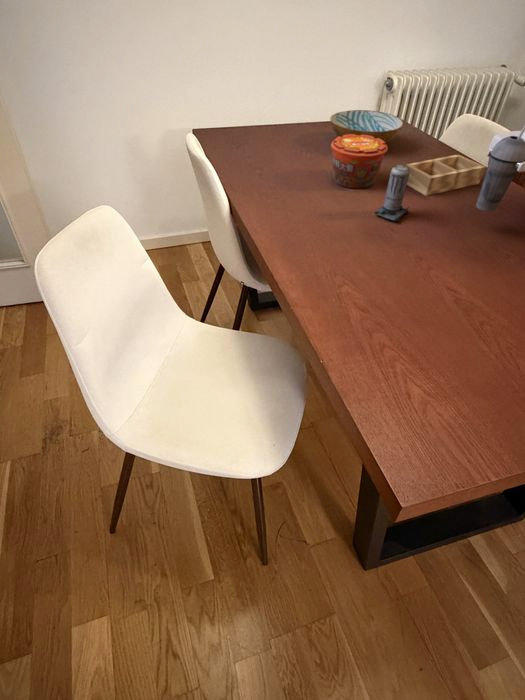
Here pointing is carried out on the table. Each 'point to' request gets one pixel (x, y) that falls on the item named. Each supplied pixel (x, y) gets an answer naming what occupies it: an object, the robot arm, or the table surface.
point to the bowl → (366, 124)
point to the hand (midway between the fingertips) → (502, 159)
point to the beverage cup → (500, 171)
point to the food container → (357, 160)
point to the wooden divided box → (444, 174)
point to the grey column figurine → (395, 194)
